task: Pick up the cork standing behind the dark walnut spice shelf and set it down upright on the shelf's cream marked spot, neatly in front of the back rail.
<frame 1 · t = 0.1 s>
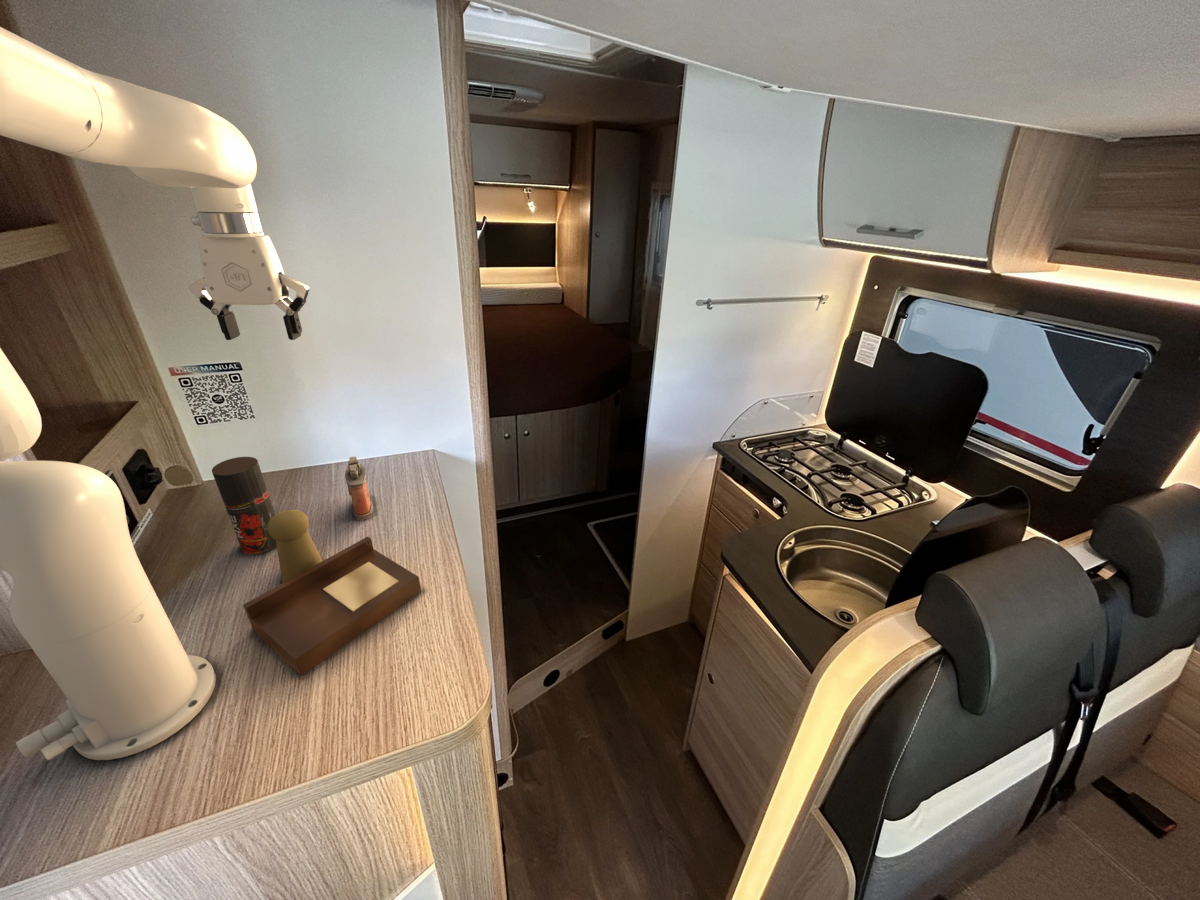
hand: (264, 337, 83), 31 cm above the counter, tool pointing down, fingers open, 9 cm apart
lighter: (363, 508, 94), on the counter
spice shelf: (342, 610, 71), on the counter
deodorant: (262, 544, 84), on the counter
cork: (304, 574, 78), on the counter
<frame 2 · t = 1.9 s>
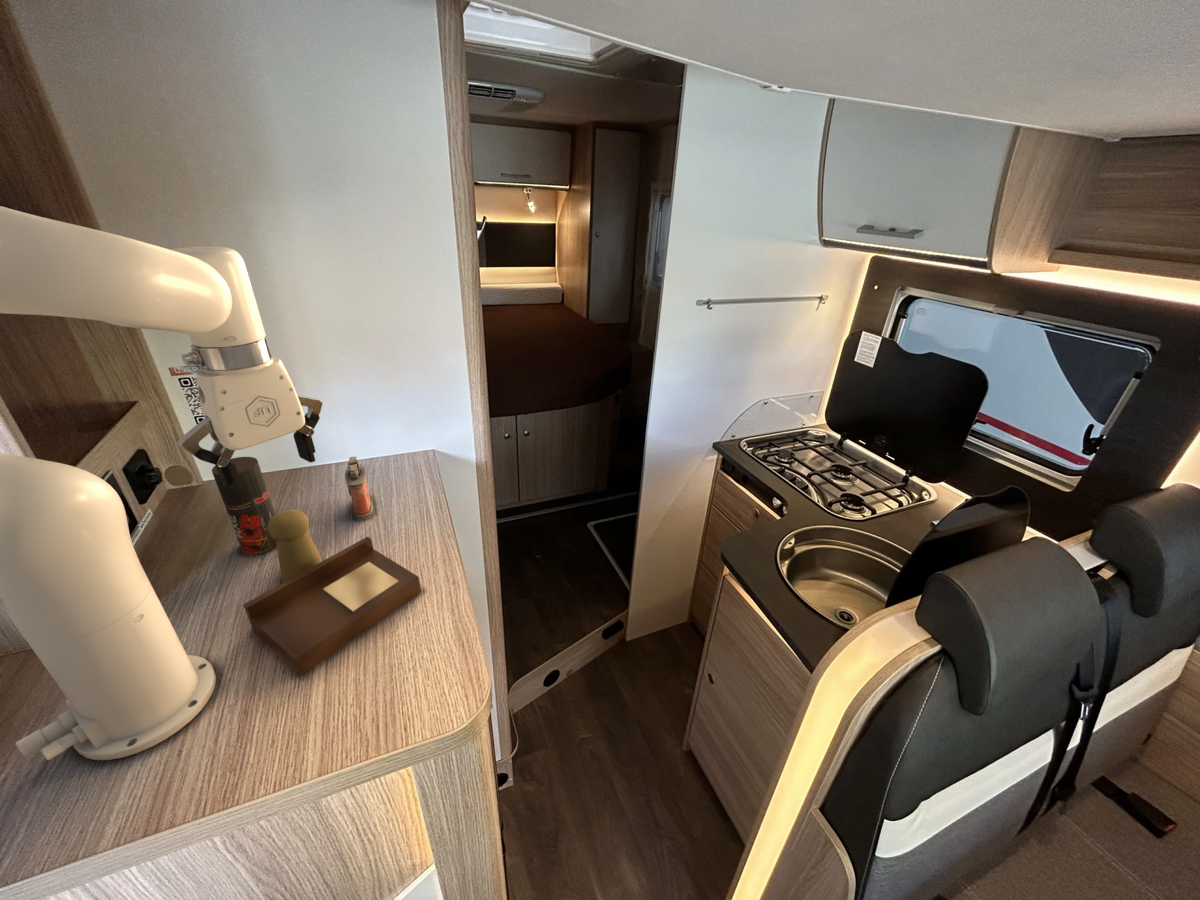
hand: (273, 472, 70), 18 cm above the counter, tool pointing down, fingers open, 9 cm apart
nothing on the counter moved.
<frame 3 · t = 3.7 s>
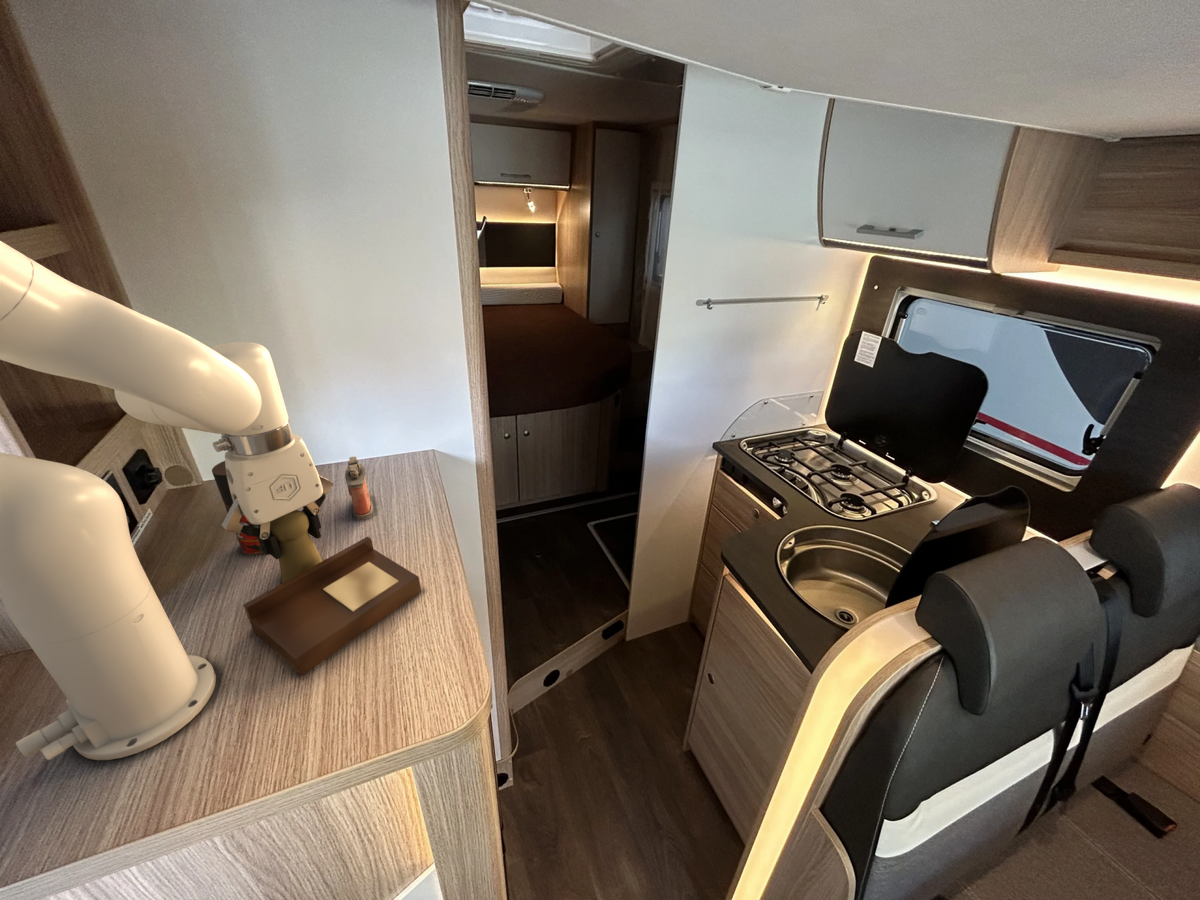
hand: (294, 543, 75), 6 cm above the counter, tool pointing down, fingers closed on cork, 5 cm apart
cork: (304, 574, 78), on the counter, touching gripper
everything else where it was.
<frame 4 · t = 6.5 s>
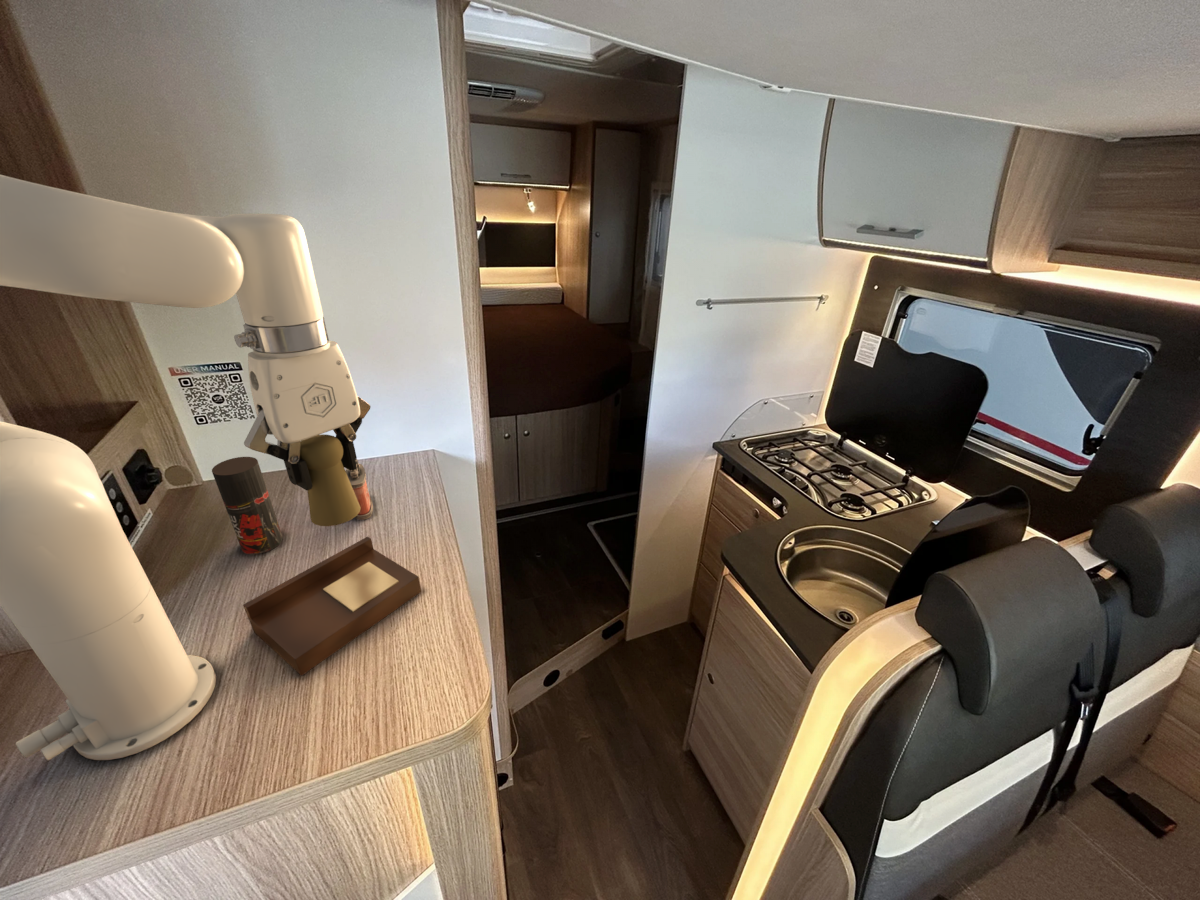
hand: (326, 475, 64), 21 cm above the counter, tool pointing down, fingers closed on cork, 5 cm apart
cork: (336, 514, 66), point 15 cm above the counter, touching gripper
everything else where it was.
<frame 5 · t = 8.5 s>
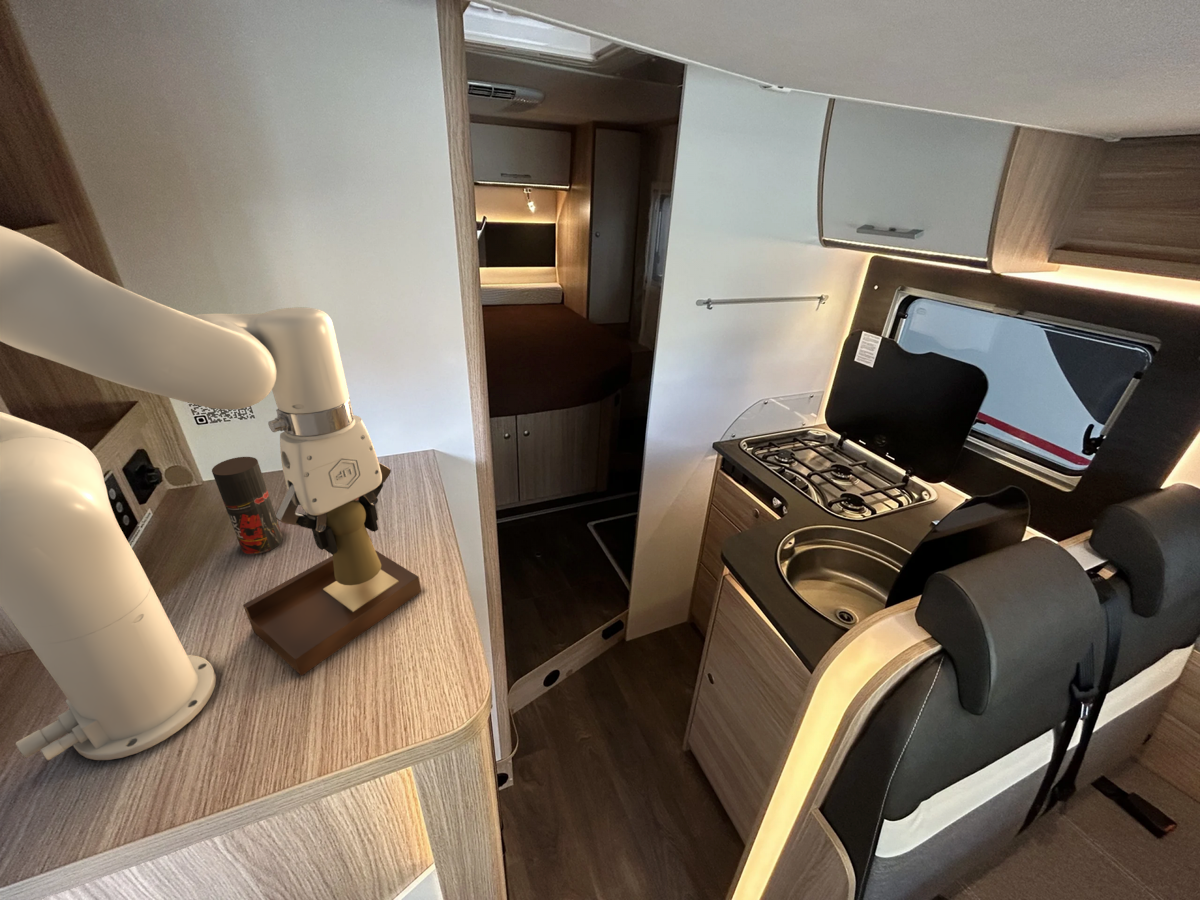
hand: (349, 537, 67), 12 cm above the counter, tool pointing down, fingers closed on cork, 5 cm apart
cork: (358, 571, 70), point 6 cm above the counter, touching gripper
everything else where it was.
when the fingers open (9 cm above the counter, at t = 9.6 s): cork stays where it is, resting on spice shelf.
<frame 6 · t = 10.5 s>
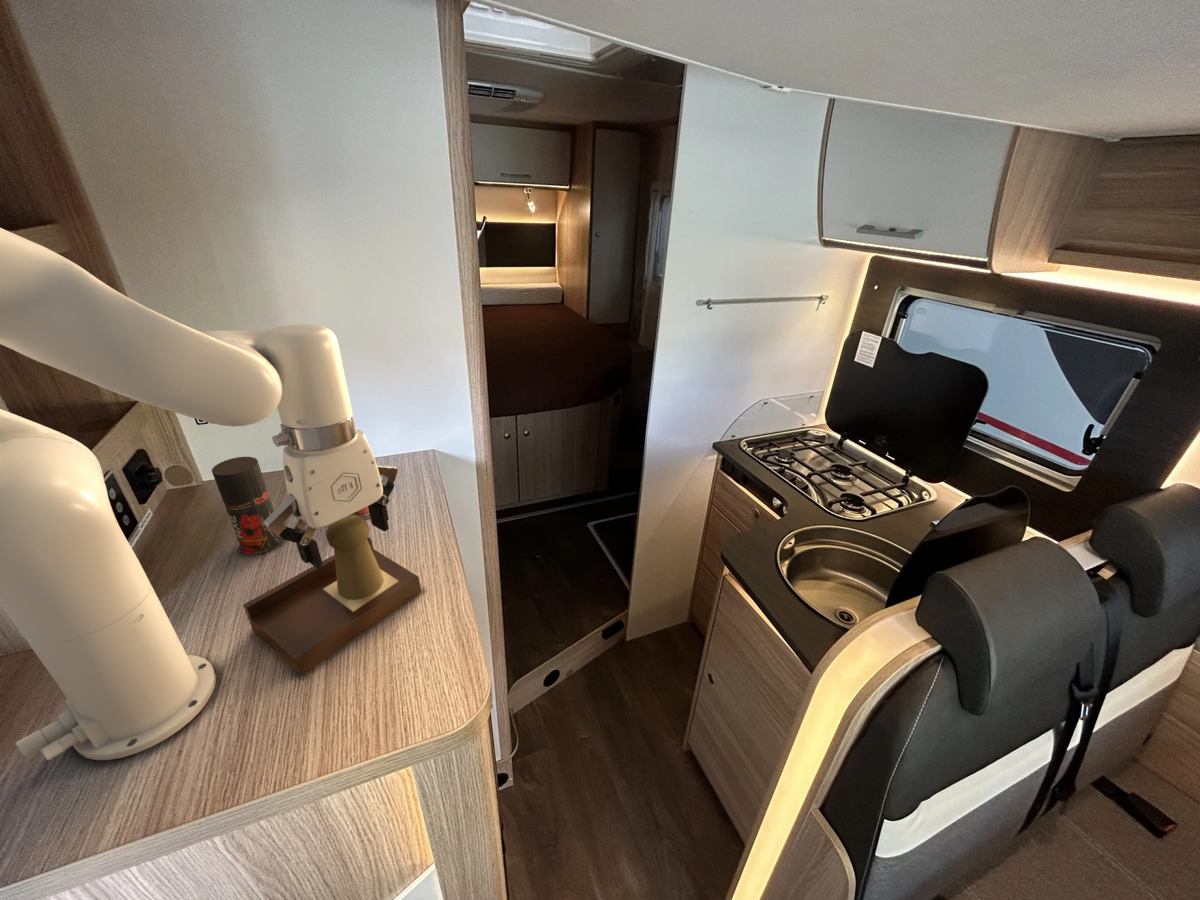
hand: (348, 544, 68), 11 cm above the counter, tool pointing down, fingers open, 9 cm apart
cork: (361, 585, 71), point 3 cm above the counter, touching spice shelf
everything else where it was.
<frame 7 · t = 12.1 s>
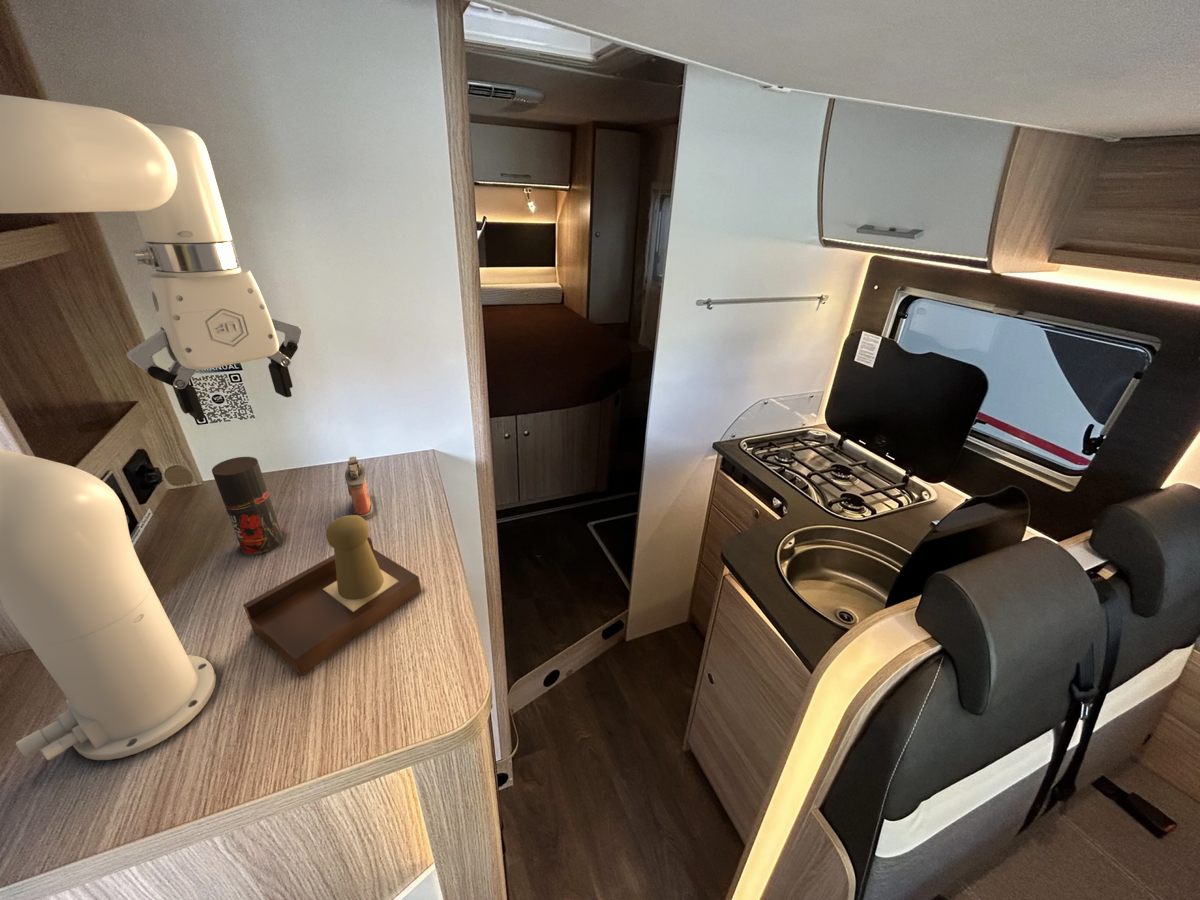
hand: (243, 405, 62), 29 cm above the counter, tool pointing down, fingers open, 9 cm apart
nothing on the counter moved.
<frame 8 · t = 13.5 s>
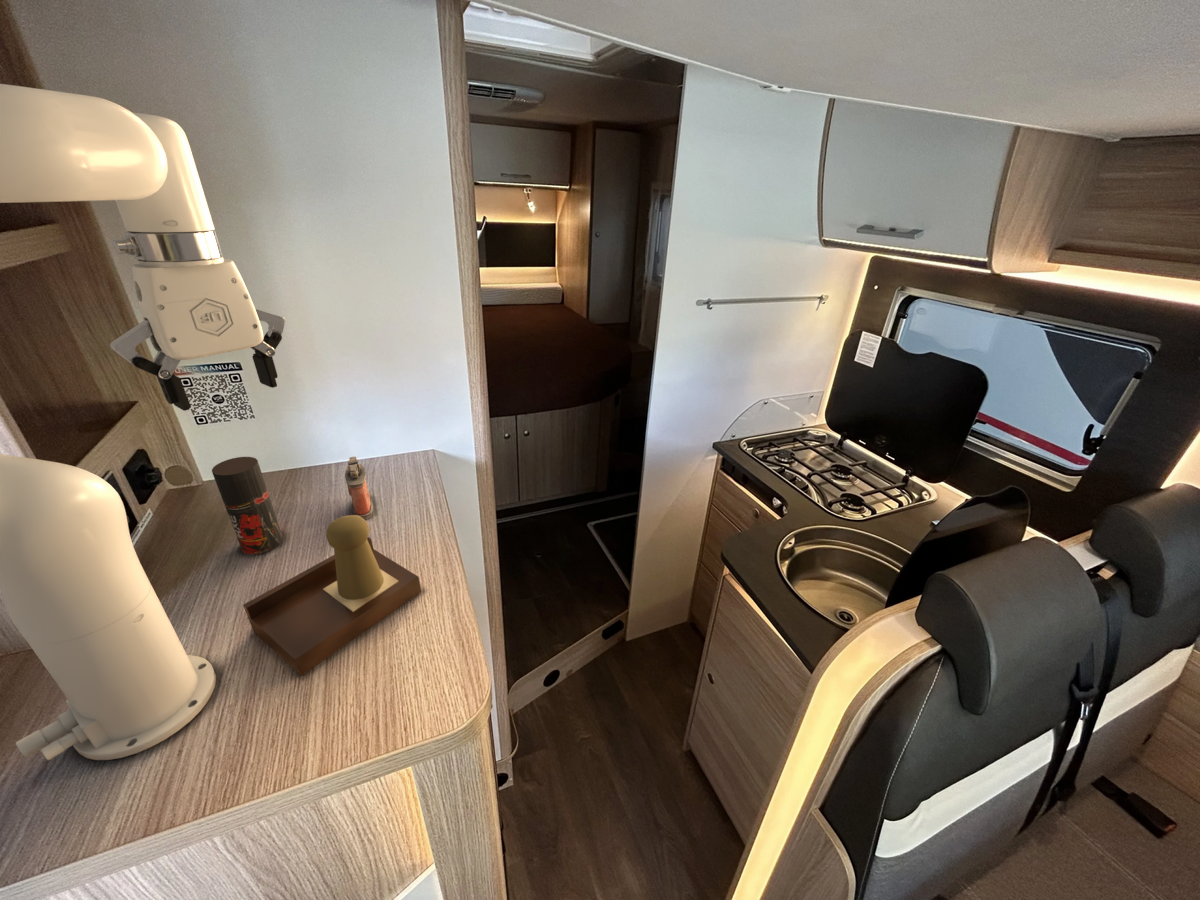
hand: (228, 395, 62), 30 cm above the counter, tool pointing down, fingers open, 9 cm apart
nothing on the counter moved.
at the end: cork 0.0 cm from the target spot, point 3.0 cm above the counter; cork tilted 0°; the gripper is holding nothing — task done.
